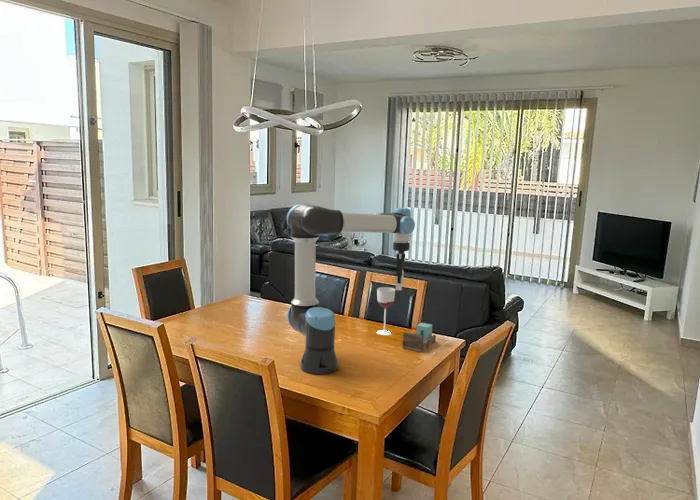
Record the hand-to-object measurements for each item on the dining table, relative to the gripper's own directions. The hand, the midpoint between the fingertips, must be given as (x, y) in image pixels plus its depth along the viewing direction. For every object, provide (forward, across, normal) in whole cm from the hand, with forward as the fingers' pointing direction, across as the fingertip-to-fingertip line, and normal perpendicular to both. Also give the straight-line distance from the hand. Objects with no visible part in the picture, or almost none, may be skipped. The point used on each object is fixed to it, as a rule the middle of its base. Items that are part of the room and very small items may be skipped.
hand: (399, 286), depth 238 cm
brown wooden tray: (+26, -5, -10) cm, 28 cm away
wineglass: (+26, +10, +7) cm, 29 cm away
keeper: (+25, 0, -12) cm, 27 cm away
